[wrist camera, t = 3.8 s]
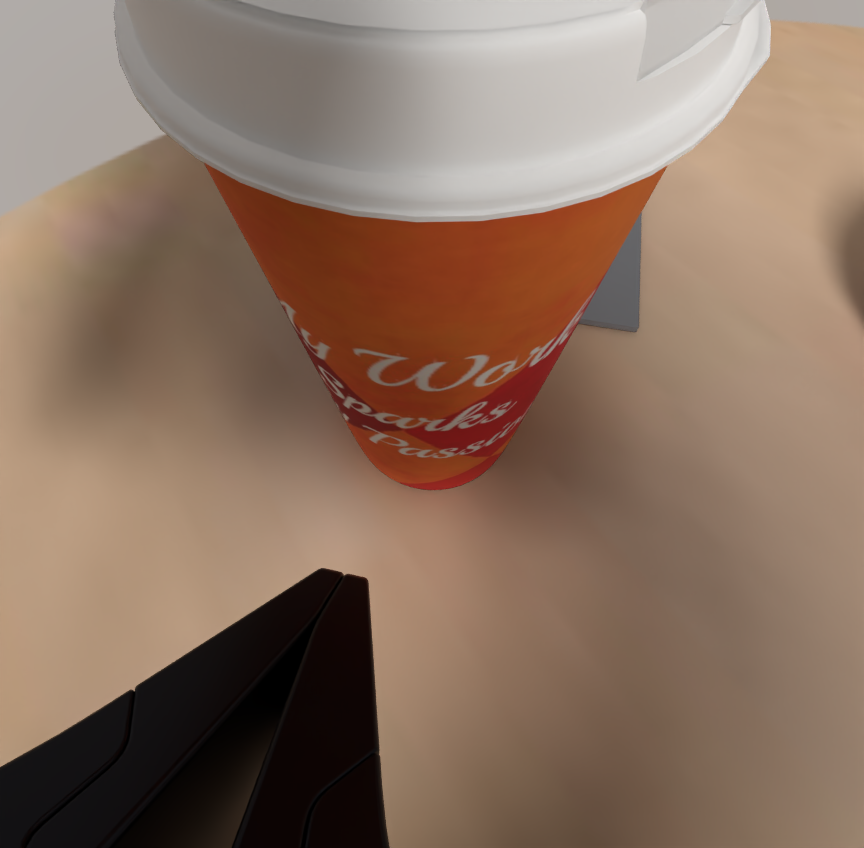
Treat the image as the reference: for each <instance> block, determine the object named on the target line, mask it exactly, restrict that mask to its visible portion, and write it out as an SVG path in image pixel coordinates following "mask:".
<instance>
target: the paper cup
mask: <svg viewBox="0 0 864 848" xmlns="http://www.w3.org/2000/svg"><path fill="white" fill-rule="evenodd" d="M114 20H115V26H116V27H115V37H116V43H117V49H118V55H119V62H120V65H121V67H122V69H123V71H124V73H125V76H126V78H127V80H128V82H129V84H130V86H131V89H132V91H133V93H134V95H135V97H136V99H137V100H138V101H139V103H140V104H141V105H142V106H143V108H144V109H145V110H146V111H147V113H148V114H149V115H150V116H151V117H152V119H153V120H154V121H155V123H156V124H157V125H158V126H159V128H160V129H161V130H162V131H163V132H165V133H166V134H167V135H168V136H169V137H171V138H172V139H173V140H174V141H176V142H177V143H178V144H179V145H181V146H182V147H183V148H184V149H186V150H187V151H188V152H189V153H190V154H192V155H193V156H194V157H195V158H197V159H199V160H200V161H202V162H204V164H205V166H206V168H207V169H208V171H209V173H210V175H211V177H212V179H213V180H214V182H215V184H216V186H217V188H218V190H219V191H220V193H221V195H222V197H223V199H224V201H225V202H226V204H227V206H228V208H229V210H230V212H231V213H232V215H233V217H234V219H235V221H236V223H237V224H238V226H239V228H240V230H241V232H242V233H243V235H244V237H245V239H246V241H247V243H248V244H249V246H250V248H251V250H252V252H253V254H254V255H255V257H256V259H257V261H258V263H259V265H260V266H261V268H262V270H263V272H264V274H265V276H266V277H267V279H268V281H269V283H270V285H271V287H272V288H273V290H274V292H275V294H276V296H277V298H278V300H279V301H280V303H281V305H282V307H283V309H284V311H285V312H286V314H287V316H288V318H289V320H290V322H291V323H292V325H293V327H294V329H295V331H296V333H297V334H298V336H299V338H300V340H301V342H302V344H303V345H304V347H305V349H306V351H307V353H308V355H309V356H310V358H311V360H312V362H313V364H314V365H315V367H316V369H317V371H318V373H319V375H320V376H321V378H322V380H323V382H324V384H325V385H326V387H327V389H328V391H329V393H330V394H331V396H332V398H333V400H334V402H335V404H336V405H337V407H338V409H339V411H340V412H341V414H342V416H343V418H344V419H345V421H346V423H347V425H348V427H349V428H350V430H351V432H352V434H353V435H354V437H355V439H356V440H357V442H358V444H359V445H360V447H361V448H362V450H363V451H364V453H365V454H366V456H367V457H368V458H369V460H370V461H371V462H372V463H373V464H374V465H375V466H376V467H377V468H378V469H379V470H380V471H381V472H383V473H384V474H385V475H387V476H388V477H390V478H391V479H393V480H395V481H397V482H399V483H401V484H404V485H406V486H409V487H413V488H418V489H424V490H442V489H449V488H453V487H457V486H460V485H463V484H465V483H468V482H470V481H472V480H473V479H475V478H477V477H478V476H480V475H481V474H483V473H484V472H485V471H486V470H488V469H489V468H490V467H491V466H492V465H493V464H494V462H495V461H496V460H497V459H498V457H499V456H500V455H501V453H502V452H503V451H504V449H505V448H506V446H507V445H508V443H509V441H510V440H511V438H512V437H513V435H514V433H515V432H516V430H517V428H518V427H519V425H520V423H521V422H522V420H523V418H524V416H525V415H526V413H527V411H528V410H529V408H530V406H531V404H532V403H533V401H534V399H535V398H536V396H537V394H538V392H539V391H540V389H541V387H542V385H543V384H544V382H545V380H546V378H547V377H548V375H549V373H550V371H551V370H552V368H553V366H554V364H555V363H556V361H557V359H558V357H559V356H560V354H561V352H562V350H563V349H564V347H565V345H566V343H567V342H568V340H569V338H570V336H571V335H572V333H573V331H574V329H575V328H576V326H577V324H578V322H579V320H580V319H581V317H582V315H583V313H584V312H585V310H586V308H587V306H588V305H589V303H590V301H591V299H592V298H593V296H594V294H595V292H596V291H597V289H598V287H599V285H600V283H601V282H602V280H603V278H604V276H605V275H606V273H607V271H608V269H609V268H610V266H611V264H612V262H613V261H614V259H615V257H616V255H617V254H618V252H619V250H620V248H621V247H622V245H623V243H624V241H625V239H626V238H627V236H628V234H629V232H630V231H631V229H632V227H633V225H634V224H635V222H636V220H637V218H638V217H639V215H640V213H641V211H642V210H643V208H644V206H645V204H646V203H647V201H648V199H649V197H650V196H651V194H652V192H653V190H654V189H655V187H656V185H657V183H658V182H659V180H660V178H661V176H662V174H663V173H664V171H665V169H666V167H667V166H668V165H669V164H670V163H672V162H673V161H675V160H677V159H678V158H680V157H681V156H683V155H684V154H686V153H688V152H689V151H691V150H692V149H693V148H694V147H695V146H696V145H697V144H699V143H700V142H701V141H702V140H703V139H704V138H705V137H706V136H707V135H708V134H709V133H710V132H711V131H712V130H713V129H715V128H716V127H717V126H718V125H719V124H720V123H721V122H722V121H723V120H724V118H725V117H726V115H727V114H728V112H729V111H730V109H731V108H732V106H733V105H734V103H735V102H736V100H737V99H738V97H739V96H740V94H741V93H742V91H743V90H744V89H745V88H746V86H747V85H748V84H749V83H750V81H751V80H752V79H753V78H754V76H755V75H756V74H757V73H758V71H759V70H760V69H761V68H762V66H763V65H764V64H765V63H766V61H767V59H768V58H769V56H770V35H771V24H770V20H769V16H768V12H767V8H766V4H765V0H116V1H115V9H114Z"/></svg>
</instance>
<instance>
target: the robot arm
mask: <svg viewBox="0 0 864 848" xmlns="http://www.w3.org/2000/svg"><path fill="white" fill-rule="evenodd" d="M0 848H390V847H389V841H388V835H387V828H386V820H385V810H384V800H383V790H382V778H381V762H380V756H379V735H378V720H377V705H376V690H375V675H374V659H373V644H372V629H371V614H370V598H369V583H368V580H367V578H365V577H360V576H356V575H352V574H346V575H343V573H342V572H339V571H334V570H330V569H326V568H321V569H318V570H317V571H315V572H314V573H312V574H310V575H309V576H307V577H306V578H304V579H303V580H301V581H300V582H298V583H296V584H295V585H293V586H292V587H290V588H289V589H287V590H285V591H284V592H282V593H281V594H279V595H278V596H276V597H275V598H273V599H271V600H270V601H268V602H267V603H265V604H264V605H262V606H260V607H259V608H257V609H256V610H254V611H253V612H251V613H250V614H248V615H246V616H245V617H243V618H242V619H240V620H239V621H237V622H235V623H234V624H232V625H231V626H229V627H228V628H226V629H225V630H223V631H221V632H220V633H218V634H217V635H215V636H214V637H212V638H210V639H209V640H207V641H206V642H204V643H203V644H201V645H200V646H198V647H196V648H195V649H193V650H192V651H190V652H189V653H187V654H185V655H184V656H182V657H181V658H179V659H178V660H176V661H175V662H173V663H171V664H170V665H168V666H167V667H165V668H164V669H162V670H161V671H159V672H157V673H156V674H154V675H153V676H151V677H150V678H148V679H146V680H145V681H143V682H142V683H140V684H139V685H137V686H136V688H135V692H134V691H133V690H129V691H127V692H126V693H124V694H123V695H121V696H120V697H118V698H116V699H115V700H113V701H112V702H110V703H109V704H107V705H105V706H104V707H102V708H101V709H99V710H97V711H96V712H94V713H92V714H91V715H89V716H88V717H86V718H84V719H83V720H81V721H79V722H78V723H76V724H75V725H73V726H71V727H70V728H68V729H66V730H65V731H63V732H61V733H60V734H58V735H56V736H55V737H53V738H51V739H49V740H48V741H46V742H44V743H42V744H40V745H39V746H37V747H35V748H33V749H32V750H30V751H28V752H26V753H24V754H23V755H21V756H19V757H17V758H16V759H14V760H12V761H10V762H9V763H7V764H5V765H3V766H1V767H0Z"/></svg>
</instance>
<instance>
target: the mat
mask: <svg viewBox="0 0 864 848" xmlns="http://www.w3.org/2000/svg"><path fill="white" fill-rule="evenodd" d="M641 212H642V211H641ZM640 254H641V213H640V215H639V217H638V218H637V220H636V222H635V224H634V225H633V227H632V229H631V231H630V232H629V234H628V236H627V238H626V239H625V241H624V243H623V245H622V247H621V248H620V250H619V252H618V254H617V255H616V257H615V259H614V261H613V262H612V264H611V266H610V268H609V269H608V271H607V273H606V275H605V276H604V278H603V280H602V282H601V283H600V285H599V287H598V289H597V291H596V292H595V294H594V296H593V298H592V299H591V301H590V303H589V305H588V306H587V308H586V310H585V312H584V313H583V315H582V317H581V319H580V320H579V322H578V323H580V324H586V325H593V326H599V327H606V328H612V329H619V330H625V331H632V332H636V331H637V330H638V328H639V296H640Z"/></svg>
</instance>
